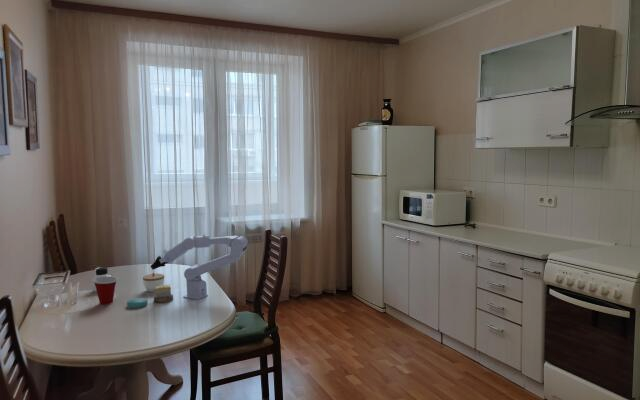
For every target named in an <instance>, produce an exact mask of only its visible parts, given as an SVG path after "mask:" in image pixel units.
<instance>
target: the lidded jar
mask: <svg viewBox="0 0 640 400" xmlns="http://www.w3.org/2000/svg"><path fill="white" fill-rule="evenodd" d="M142 280H143V281H142V282H143V286H144V288H145V289H146V291H148V293H156V289H155V286H161V285H165V275H164V274H163V273H155V272H152V273H150V274H145V275H143V277H142Z"/></svg>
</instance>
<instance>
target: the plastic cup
mask: <svg viewBox="0 0 640 400" xmlns="http://www.w3.org/2000/svg"><path fill="white" fill-rule="evenodd" d="M117 281H118V277H116V276H111V277H99V278H95V279H94V280H93V282H94V283H95V287H96V290H97V291H96V295H97V298H98V301H99V304H100V305H101V306H102V305H106V306H107V305H110V304H112V303H114V296H115V289H116V285H117Z"/></svg>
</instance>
